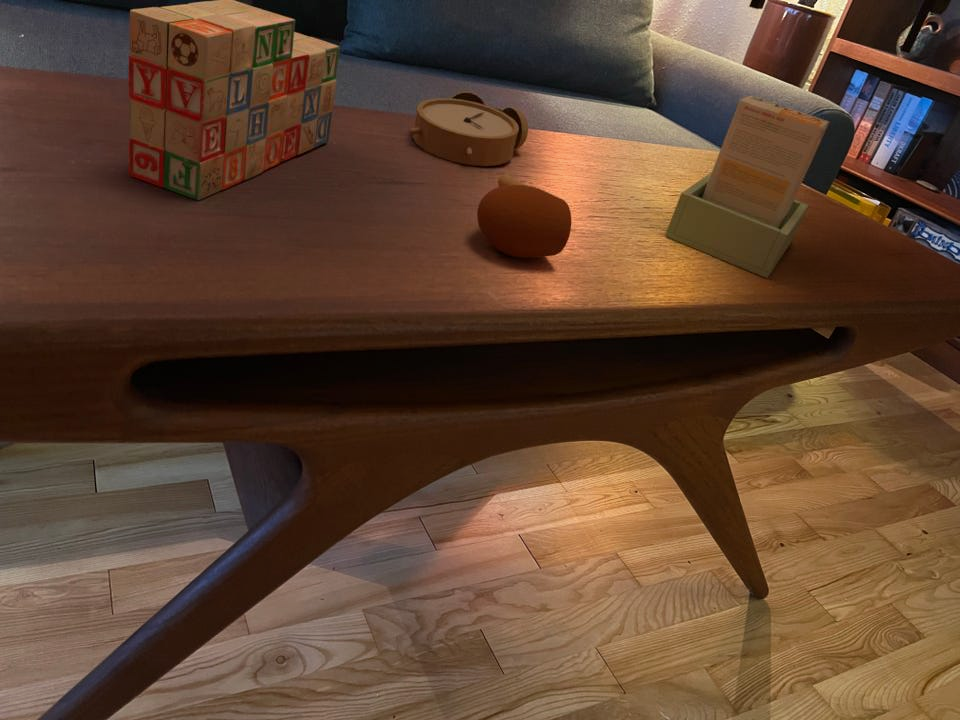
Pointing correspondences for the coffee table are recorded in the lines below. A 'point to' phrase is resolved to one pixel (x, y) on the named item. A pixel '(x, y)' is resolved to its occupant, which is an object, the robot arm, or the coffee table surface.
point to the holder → (731, 231)
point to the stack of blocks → (223, 94)
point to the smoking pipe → (524, 219)
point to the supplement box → (764, 160)
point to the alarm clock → (469, 130)
